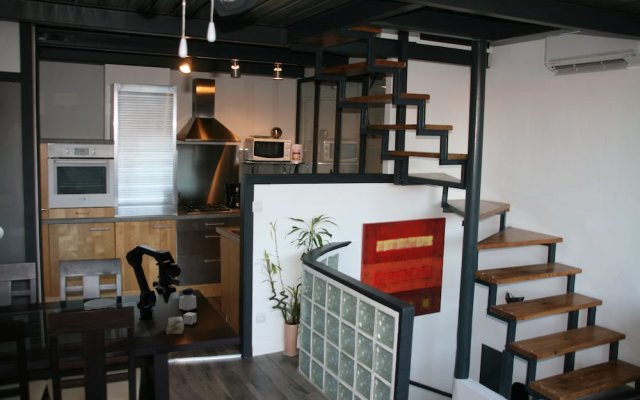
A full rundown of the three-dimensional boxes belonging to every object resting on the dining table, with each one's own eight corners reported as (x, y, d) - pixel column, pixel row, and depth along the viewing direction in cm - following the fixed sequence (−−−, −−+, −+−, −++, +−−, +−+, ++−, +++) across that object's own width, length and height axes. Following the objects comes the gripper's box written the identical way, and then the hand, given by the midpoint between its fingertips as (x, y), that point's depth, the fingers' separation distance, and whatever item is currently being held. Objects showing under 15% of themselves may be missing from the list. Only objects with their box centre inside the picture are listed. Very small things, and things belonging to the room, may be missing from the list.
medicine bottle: (196, 307, 348) (196, 288, 347) (187, 310, 342) (187, 290, 341) (187, 305, 352) (187, 286, 351) (179, 308, 346) (178, 288, 345)
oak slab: (166, 334, 304) (166, 328, 304) (168, 329, 312) (168, 323, 311) (182, 334, 305) (182, 328, 304) (184, 329, 313) (184, 322, 312)
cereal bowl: (113, 308, 344) (113, 296, 344) (118, 316, 330) (117, 304, 329) (83, 312, 337) (82, 300, 336) (85, 320, 322) (85, 308, 321)
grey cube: (183, 323, 320) (183, 314, 320) (188, 320, 325) (188, 312, 325) (191, 324, 319) (191, 315, 318) (196, 321, 324) (196, 313, 323)
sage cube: (170, 304, 318) (170, 295, 317) (162, 305, 315) (161, 296, 314) (167, 302, 322) (166, 293, 321) (158, 303, 319) (158, 294, 318)
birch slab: (169, 328, 303) (169, 322, 303) (168, 324, 310) (167, 317, 309) (183, 327, 306) (183, 320, 305) (181, 322, 312) (181, 316, 312)
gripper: (185, 275, 314) (185, 303, 316) (171, 268, 328) (171, 295, 330) (165, 278, 307) (166, 307, 309) (151, 271, 322) (152, 299, 323)
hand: (164, 302), depth 318 cm, fingers closed on sage cube, 5 cm apart
